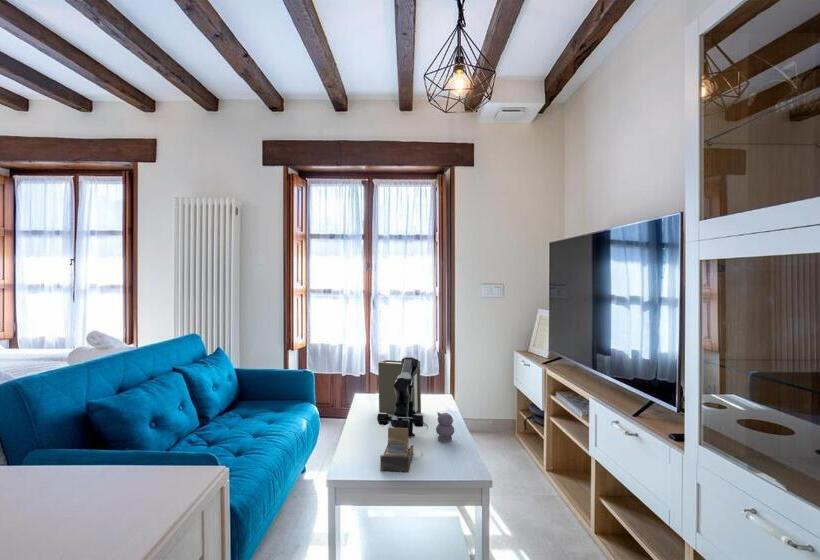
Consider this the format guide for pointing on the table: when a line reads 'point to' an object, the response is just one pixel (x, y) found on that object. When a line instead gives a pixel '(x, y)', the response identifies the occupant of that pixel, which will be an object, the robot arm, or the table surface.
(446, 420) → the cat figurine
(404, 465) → the roller track
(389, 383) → the book
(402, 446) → the slab
